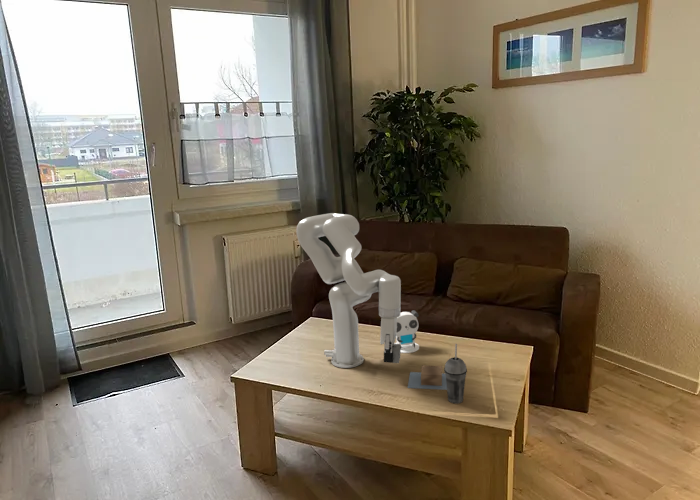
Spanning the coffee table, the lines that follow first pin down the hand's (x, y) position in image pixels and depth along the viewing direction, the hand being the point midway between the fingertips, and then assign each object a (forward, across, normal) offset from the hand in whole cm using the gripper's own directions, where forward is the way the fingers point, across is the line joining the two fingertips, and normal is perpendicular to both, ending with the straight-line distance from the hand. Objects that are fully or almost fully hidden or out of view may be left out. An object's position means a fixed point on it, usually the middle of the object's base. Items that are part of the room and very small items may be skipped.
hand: (389, 357), depth 188 cm
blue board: (+8, +2, +15) cm, 17 cm away
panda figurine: (+9, -28, +3) cm, 30 cm away
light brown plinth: (+7, +2, +15) cm, 17 cm away
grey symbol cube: (+1, 0, +1) cm, 1 cm away
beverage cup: (+7, +14, +23) cm, 28 cm away
